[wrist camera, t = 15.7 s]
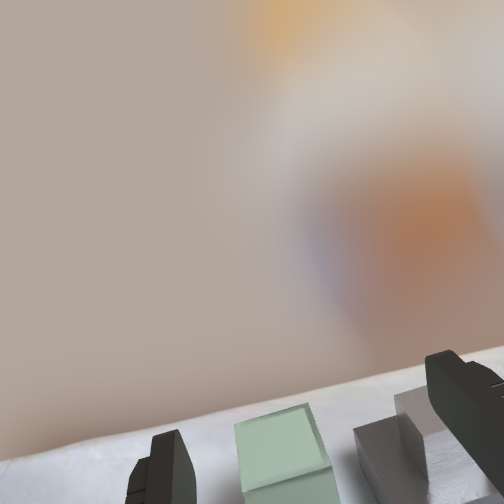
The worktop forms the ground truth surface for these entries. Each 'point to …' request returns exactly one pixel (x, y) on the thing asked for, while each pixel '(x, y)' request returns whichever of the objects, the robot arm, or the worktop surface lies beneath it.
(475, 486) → the grey step block
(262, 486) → the tall mint pillar
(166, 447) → the robot arm
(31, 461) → the worktop surface
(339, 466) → the worktop surface
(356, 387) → the worktop surface
